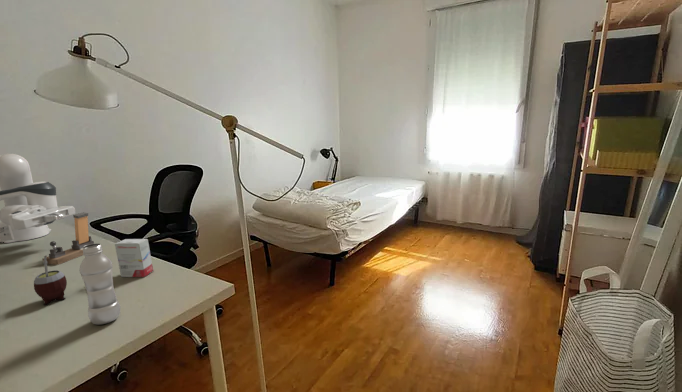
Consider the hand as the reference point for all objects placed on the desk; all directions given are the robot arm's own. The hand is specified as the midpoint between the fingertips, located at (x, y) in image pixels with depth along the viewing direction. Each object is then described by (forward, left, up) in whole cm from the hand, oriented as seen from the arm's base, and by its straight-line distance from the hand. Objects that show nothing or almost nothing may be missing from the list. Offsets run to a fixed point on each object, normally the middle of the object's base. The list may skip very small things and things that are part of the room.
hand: (60, 217), depth 132 cm
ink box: (+47, -13, -15) cm, 51 cm away
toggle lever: (+7, -8, -11) cm, 15 cm away
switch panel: (+7, -3, -15) cm, 16 cm away
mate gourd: (+37, -32, -15) cm, 51 cm away
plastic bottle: (+62, -38, -15) cm, 74 cm away
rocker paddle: (+7, +2, -11) cm, 13 cm away
